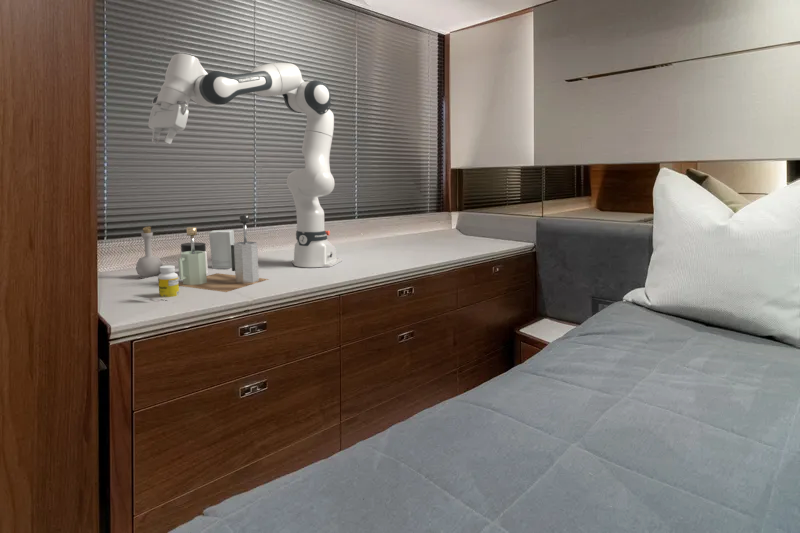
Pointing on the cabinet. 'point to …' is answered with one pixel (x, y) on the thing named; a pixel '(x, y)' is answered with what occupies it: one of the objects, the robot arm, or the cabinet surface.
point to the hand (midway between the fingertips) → (161, 143)
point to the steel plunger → (244, 225)
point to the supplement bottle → (168, 282)
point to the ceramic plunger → (192, 236)
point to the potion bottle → (148, 258)
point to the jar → (197, 246)
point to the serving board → (220, 283)
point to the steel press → (245, 262)
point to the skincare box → (221, 248)
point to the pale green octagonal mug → (192, 268)
